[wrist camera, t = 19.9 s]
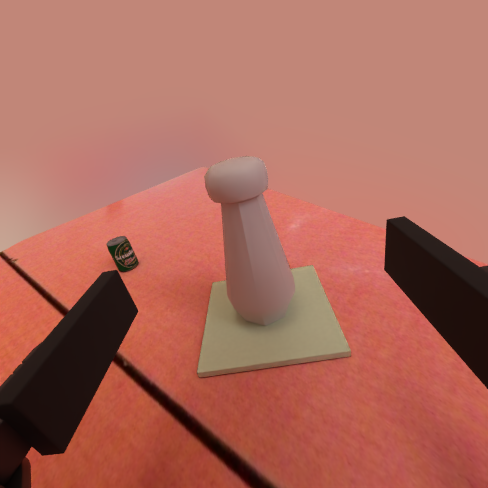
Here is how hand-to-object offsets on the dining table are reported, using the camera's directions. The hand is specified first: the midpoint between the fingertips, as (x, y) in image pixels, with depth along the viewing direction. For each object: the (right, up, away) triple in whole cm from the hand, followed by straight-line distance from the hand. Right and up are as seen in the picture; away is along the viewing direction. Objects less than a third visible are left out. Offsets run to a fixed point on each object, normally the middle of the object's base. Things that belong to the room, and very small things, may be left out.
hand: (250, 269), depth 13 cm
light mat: (+2, -5, +11) cm, 12 cm away
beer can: (-17, -2, +25) cm, 30 cm away
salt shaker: (+2, -5, +10) cm, 12 cm away
